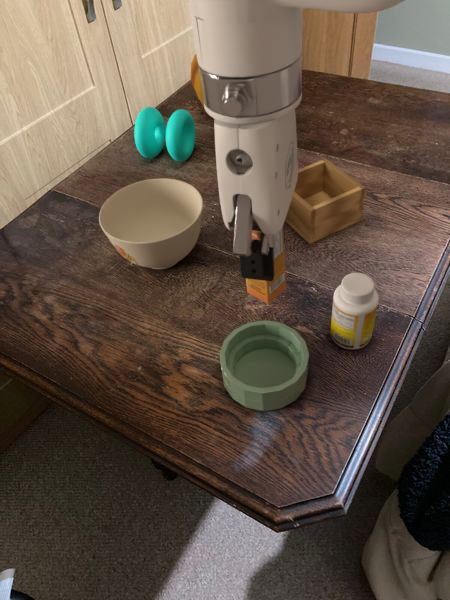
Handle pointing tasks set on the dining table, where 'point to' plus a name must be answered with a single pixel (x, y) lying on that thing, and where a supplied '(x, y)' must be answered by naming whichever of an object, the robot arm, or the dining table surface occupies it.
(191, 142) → the turquoise yo-yo
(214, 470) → the dining table surface
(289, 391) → the green bowl
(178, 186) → the bowl
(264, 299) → the supplement box
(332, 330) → the supplement bottle
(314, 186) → the wooden holder
